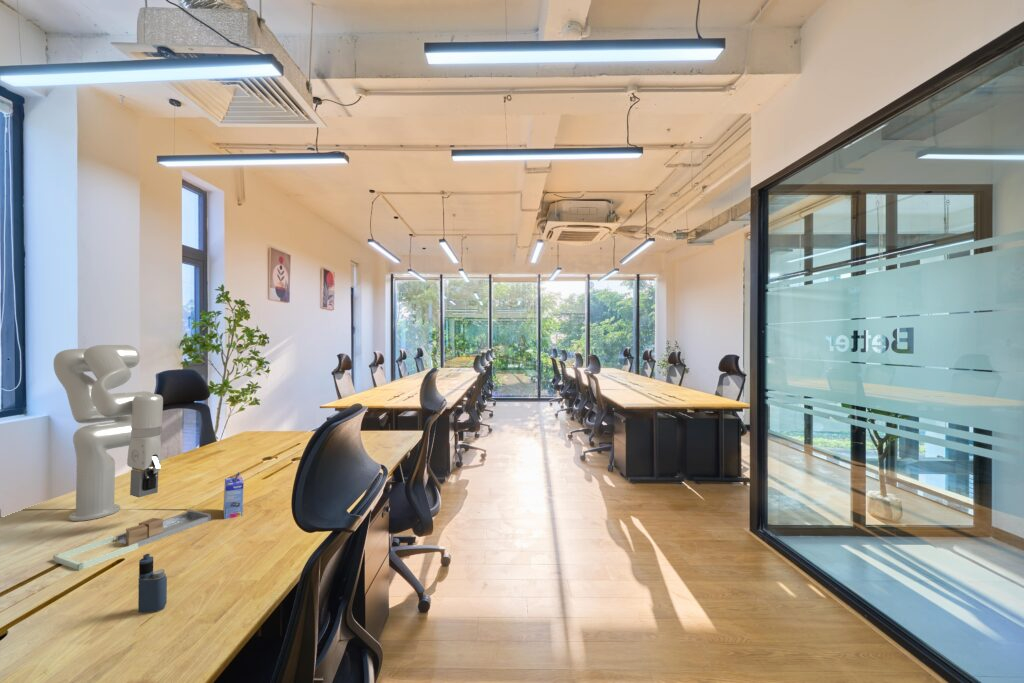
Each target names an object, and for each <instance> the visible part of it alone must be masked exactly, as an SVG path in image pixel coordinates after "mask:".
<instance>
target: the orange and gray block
mask: <svg viewBox="0 0 1024 683" xmlns="http://www.w3.org/2000/svg"><path fill="white" fill-rule="evenodd" d="M151 467H153V466H149V468H151ZM151 470H153V469H150V470H148V471H149V472H150V471H151ZM144 478H145V472H144V470H139V469H135V468H132V467H131V470H130V487H129V489H130V490H129V495H130V496H132V497H135V498H142V497H146V496H149V495H154V494H157V493H158V490H159V488H158V487H159V472H158V473H157V476H156V488H154V489H151V490H147V491H143V479H144Z"/></svg>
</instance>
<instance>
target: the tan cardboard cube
mask: <svg viewBox="0 0 1024 683" xmlns="http://www.w3.org/2000/svg"><path fill="white" fill-rule="evenodd" d="M163 520H164V519H163V518H157V517H156V518H155V517H152V518H149V519H147V520H143V521H142V522H139V523H138V525H142V524H145V525H146V526H147V527H148V528H147V537H150V536H152V535H155V534H158V533H161V532H163Z"/></svg>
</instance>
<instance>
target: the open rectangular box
mask: <svg viewBox="0 0 1024 683" xmlns="http://www.w3.org/2000/svg"><path fill="white" fill-rule="evenodd" d="M211 521H212V514H211V513H208V512H203V511H198V510H193V509H188V510H186V512H183V513H181V514H178V515H174V516H172V517H169V518H168V517H167V518H165V519H163V532H161V533H158V534H155V535H152V536H150V537H147V538H144V539H141V540H138V541H135V543H138V548H140V547H143V546H146V545H149V544H151V543H153V542H156V541H159V540H162V539H164V538H168V537H170V536H172V535H176V534H179V533H181V532H183V531H186V530H189V529H191V528H194V527H196V526H200V525H202V524H205V523H209V522H211ZM115 542H118V543H120V544H124V545H127V546H128V544H127V543H126V532H123V533H120V534H117V535H115Z"/></svg>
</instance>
